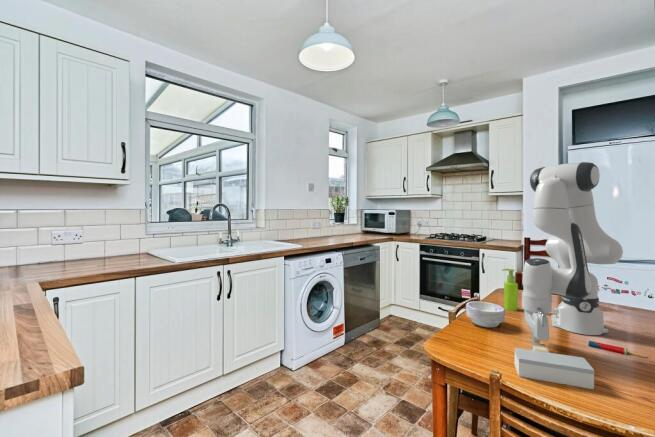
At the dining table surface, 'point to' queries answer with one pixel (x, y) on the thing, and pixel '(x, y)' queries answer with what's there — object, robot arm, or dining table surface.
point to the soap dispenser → (510, 292)
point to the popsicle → (613, 349)
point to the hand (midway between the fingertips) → (535, 343)
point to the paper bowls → (485, 313)
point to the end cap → (554, 368)
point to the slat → (539, 347)
